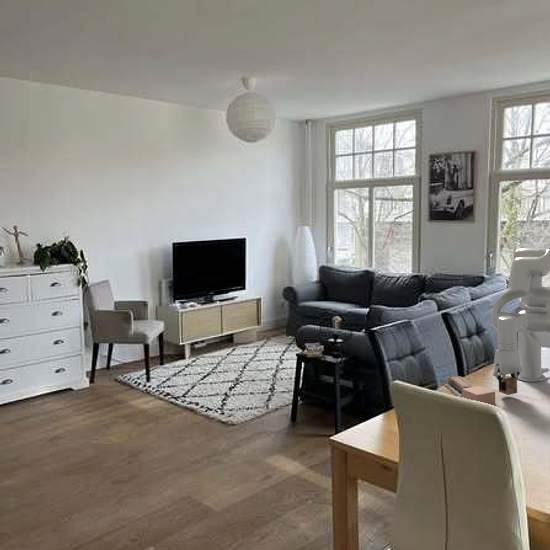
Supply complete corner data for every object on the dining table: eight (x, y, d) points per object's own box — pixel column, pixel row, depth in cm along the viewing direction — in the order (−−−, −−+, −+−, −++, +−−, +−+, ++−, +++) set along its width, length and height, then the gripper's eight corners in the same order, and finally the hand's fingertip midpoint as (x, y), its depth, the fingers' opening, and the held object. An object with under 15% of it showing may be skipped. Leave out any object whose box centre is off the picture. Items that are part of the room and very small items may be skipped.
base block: (479, 397, 230) (479, 385, 230) (495, 403, 222) (495, 391, 221) (462, 400, 227) (462, 388, 227) (477, 407, 219) (477, 394, 218)
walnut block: (508, 389, 232) (508, 375, 231) (517, 392, 227) (517, 378, 226) (498, 391, 230) (498, 377, 229) (507, 394, 225) (507, 380, 225)
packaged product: (443, 376, 248) (465, 374, 248) (443, 386, 248) (465, 385, 249) (458, 388, 230) (481, 386, 230) (458, 399, 230) (482, 397, 231)
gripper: (516, 341, 233) (517, 383, 235) (484, 347, 227) (485, 390, 229) (530, 345, 226) (530, 388, 228) (497, 351, 220) (498, 395, 222)
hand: (507, 388), depth 228 cm, fingers closed on walnut block, 5 cm apart
